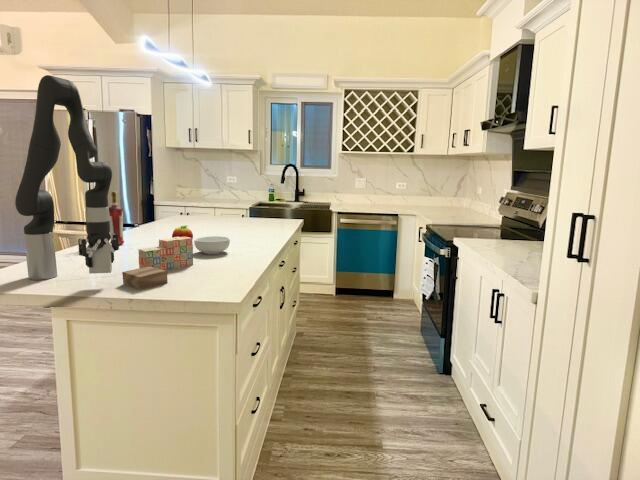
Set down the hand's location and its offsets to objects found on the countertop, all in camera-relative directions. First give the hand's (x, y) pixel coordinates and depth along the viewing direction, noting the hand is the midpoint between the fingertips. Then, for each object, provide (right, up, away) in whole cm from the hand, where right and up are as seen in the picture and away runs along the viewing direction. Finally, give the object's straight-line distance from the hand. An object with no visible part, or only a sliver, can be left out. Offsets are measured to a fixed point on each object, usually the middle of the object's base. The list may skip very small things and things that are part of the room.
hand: (100, 264), depth 155 cm
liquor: (-29, +6, +75) cm, 80 cm away
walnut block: (+14, -8, +6) cm, 17 cm away
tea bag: (0, -3, +1) cm, 3 cm away
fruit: (+5, +6, +79) cm, 79 cm away
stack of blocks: (+14, -3, +29) cm, 32 cm away
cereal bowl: (+25, +2, +60) cm, 65 cm away
